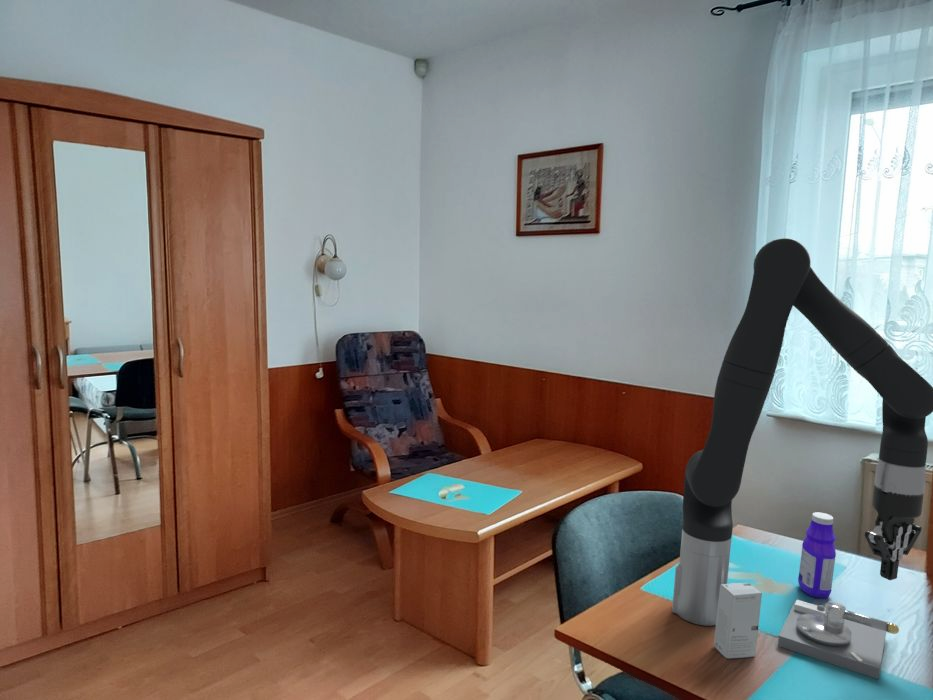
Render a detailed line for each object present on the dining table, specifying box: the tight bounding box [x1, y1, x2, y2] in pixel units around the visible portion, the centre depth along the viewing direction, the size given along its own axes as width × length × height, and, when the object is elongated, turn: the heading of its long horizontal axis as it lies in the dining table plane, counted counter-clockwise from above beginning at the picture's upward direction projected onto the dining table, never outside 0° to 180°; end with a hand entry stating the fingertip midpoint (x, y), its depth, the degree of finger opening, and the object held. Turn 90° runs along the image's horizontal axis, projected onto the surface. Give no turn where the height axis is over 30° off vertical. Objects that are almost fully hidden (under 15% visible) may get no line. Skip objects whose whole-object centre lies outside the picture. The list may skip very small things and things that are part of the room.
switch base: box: [777, 599, 887, 680], centre depth 126 cm, size 16×16×4 cm
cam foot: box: [797, 601, 900, 646], centre depth 123 cm, size 16×9×6 cm, turn 55°
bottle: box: [797, 511, 837, 599], centre depth 145 cm, size 7×6×17 cm
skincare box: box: [713, 582, 763, 659], centre depth 121 cm, size 6×4×12 cm
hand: (888, 577), depth 122 cm, fingers closed
